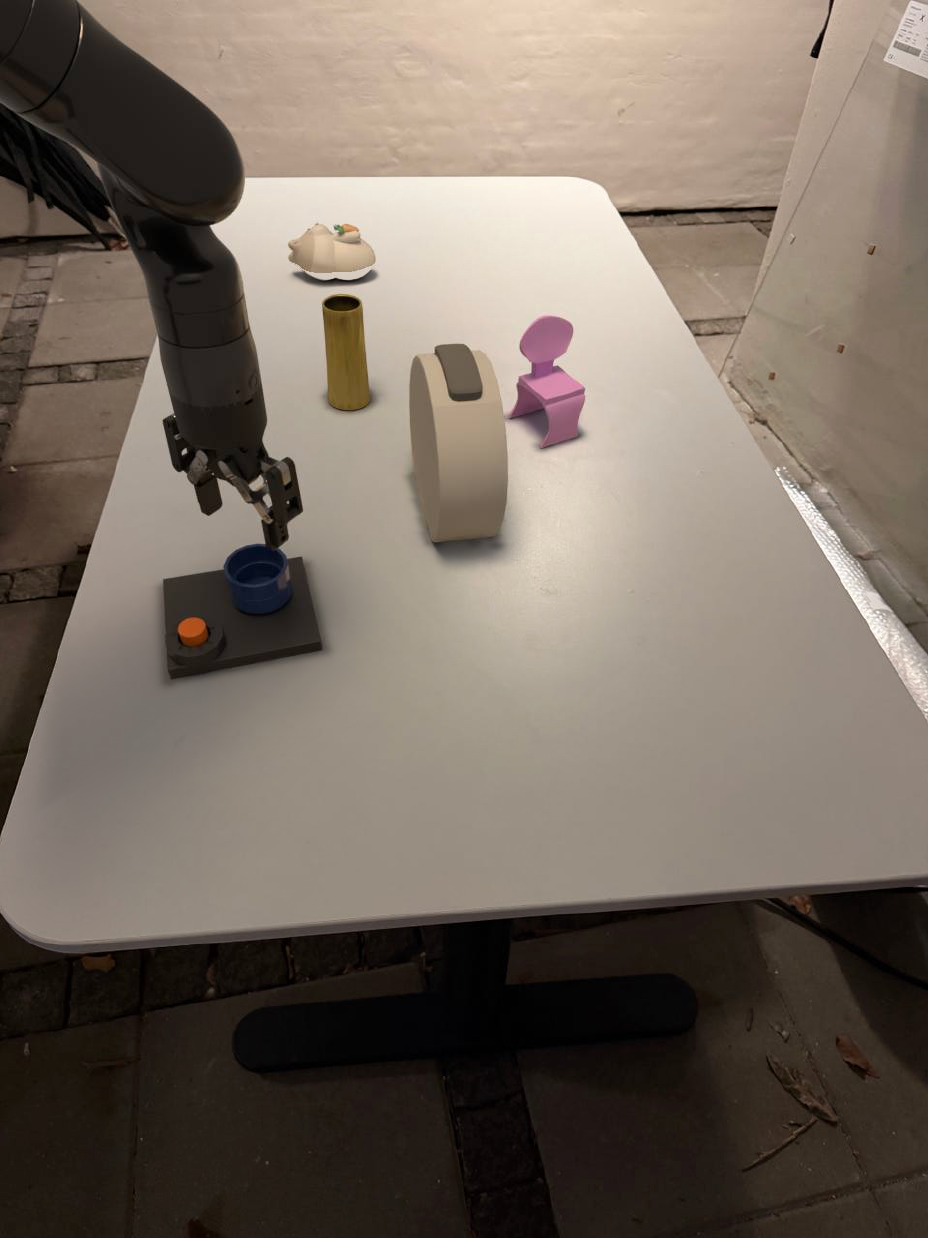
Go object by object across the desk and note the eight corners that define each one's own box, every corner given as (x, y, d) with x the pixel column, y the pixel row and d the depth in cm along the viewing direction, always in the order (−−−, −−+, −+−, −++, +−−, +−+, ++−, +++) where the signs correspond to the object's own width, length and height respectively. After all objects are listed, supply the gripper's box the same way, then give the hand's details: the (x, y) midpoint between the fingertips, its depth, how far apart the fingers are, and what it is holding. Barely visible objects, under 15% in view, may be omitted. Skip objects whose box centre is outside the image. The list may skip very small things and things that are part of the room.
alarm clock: (501, 558, 90) (517, 410, 76) (438, 565, 89) (441, 416, 74) (464, 450, 104) (471, 308, 89) (409, 455, 103) (407, 311, 88)
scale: (171, 680, 76) (163, 661, 74) (165, 587, 85) (159, 568, 83) (322, 651, 80) (319, 632, 77) (303, 565, 88) (300, 545, 86)
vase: (371, 410, 110) (366, 313, 99) (328, 412, 109) (318, 314, 98) (369, 387, 114) (364, 291, 103) (327, 388, 113) (317, 292, 102)
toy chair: (536, 452, 104) (550, 349, 93) (501, 419, 109) (510, 317, 98) (585, 436, 108) (604, 334, 96) (549, 404, 112) (563, 304, 101)
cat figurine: (377, 218, 132) (287, 209, 128) (379, 260, 130) (288, 252, 127) (371, 255, 141) (287, 247, 137) (373, 294, 139) (288, 288, 136)
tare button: (182, 649, 76) (178, 639, 75) (180, 630, 77) (177, 620, 76) (209, 644, 76) (206, 634, 75) (207, 625, 78) (204, 615, 77)
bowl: (234, 622, 80) (226, 591, 77) (229, 579, 84) (221, 549, 81) (296, 610, 81) (291, 580, 78) (288, 569, 85) (283, 539, 82)
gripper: (118, 368, 64) (163, 519, 76) (245, 429, 59) (272, 579, 71) (187, 334, 69) (219, 481, 80) (310, 388, 64) (325, 536, 76)
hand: (244, 527), depth 76 cm, fingers open, 8 cm apart
